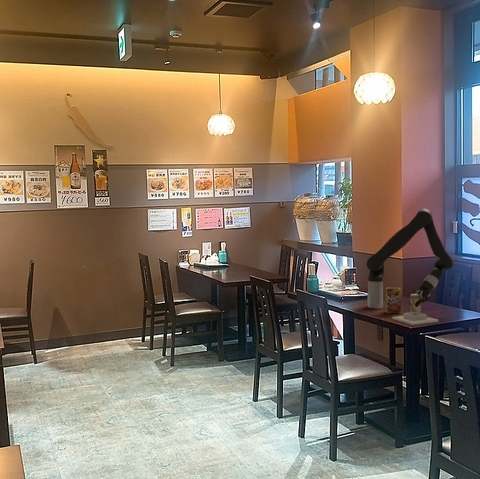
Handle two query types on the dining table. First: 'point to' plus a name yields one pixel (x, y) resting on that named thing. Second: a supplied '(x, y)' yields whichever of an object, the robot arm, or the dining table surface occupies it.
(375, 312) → the dining table surface
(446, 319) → the dining table surface
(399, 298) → the candy box
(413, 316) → the holder
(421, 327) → the dining table surface
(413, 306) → the beige capped cylinder
